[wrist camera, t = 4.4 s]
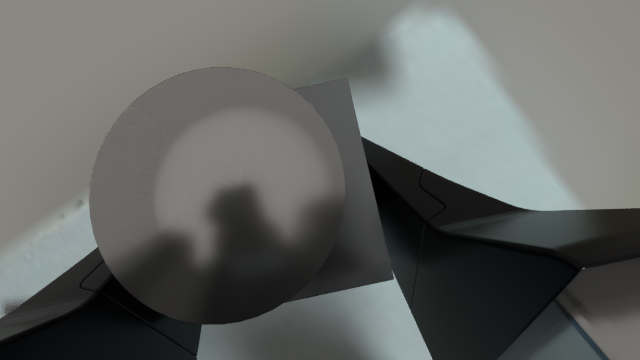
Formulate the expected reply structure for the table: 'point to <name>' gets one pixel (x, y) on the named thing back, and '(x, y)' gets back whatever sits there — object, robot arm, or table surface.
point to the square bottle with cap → (236, 196)
